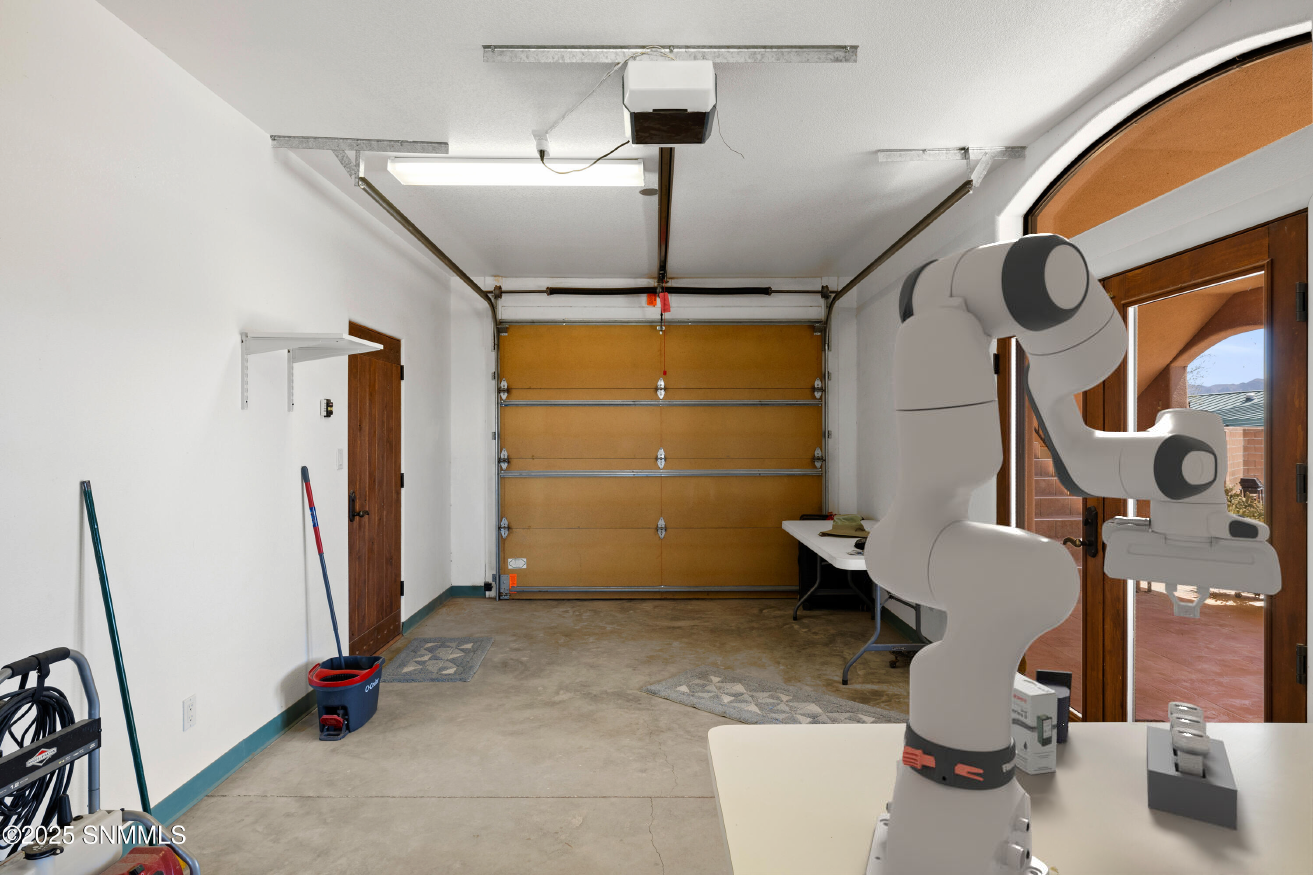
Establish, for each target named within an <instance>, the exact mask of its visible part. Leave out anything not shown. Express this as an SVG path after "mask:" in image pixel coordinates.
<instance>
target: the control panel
mask: <svg viewBox="0 0 1313 875" xmlns="http://www.w3.org/2000/svg"><path fill="white" fill-rule="evenodd" d="M1146 783H1147V784H1146V785H1147V789H1146V790H1147V807H1148V808H1151V809H1153V810H1154V809H1155V810H1158V811H1161V812H1165V813H1170V814H1174V815H1177V816H1181V817H1184V818H1189V819H1193V820H1195V821H1201V822H1204V823H1207V822H1208V824H1211V825H1217V826H1219V827H1223V828H1227V829H1231V830H1234V831H1237V828H1238V823H1237V822H1238V788H1237V785H1236V781H1235V778H1234V774H1233V770H1232V767H1231V764H1230V760H1229V757H1228V753H1227V750H1226V747H1225V743H1224V740H1221V739H1216V738H1211V737H1210V754H1209V755H1208V756H1203V760H1202V778H1201V777H1197V776H1192V775H1188V774H1184V773H1179V768H1178V757H1177V752H1176V749H1174V748H1173V747H1172V746H1171V732H1170V729H1166V728H1163V727H1158V726H1153V725H1146Z"/></svg>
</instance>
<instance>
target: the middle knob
mask: <svg viewBox="0 0 1313 875" xmlns="http://www.w3.org/2000/svg"><path fill="white" fill-rule="evenodd" d="M1173 728H1188V729H1193V730H1196V731H1199V732H1202V733H1204V734H1206V735H1207V722H1206V721H1204V719H1203V720H1201V719H1199V718H1196V717H1192V716H1188V715H1182V714H1173V715H1170V719H1169V730H1170V732H1171V731H1172V729H1173ZM1176 752H1177V757H1178V750H1176Z"/></svg>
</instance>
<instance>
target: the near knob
mask: <svg viewBox="0 0 1313 875" xmlns="http://www.w3.org/2000/svg"><path fill="white" fill-rule="evenodd" d="M1210 738H1211V737H1210V736H1209V735H1207V733H1206V734H1204V733H1202V732H1199V731H1196V730H1193V729H1188V728H1173V729H1172V731H1171V746H1172V747H1173V748H1174V749H1176V750H1178V768H1179V771H1178V772H1179V773H1184V774H1188V775H1192V776H1197V777H1201V778H1203V776H1202V760H1203V756H1208V755H1209V754H1210Z"/></svg>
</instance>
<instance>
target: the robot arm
mask: <svg viewBox="0 0 1313 875" xmlns="http://www.w3.org/2000/svg"><path fill="white" fill-rule="evenodd" d="M898 315H899V318H900V322H901V325H900V327H899V328H898V330H897V331H896V335H895V341H894V342H895V343H894V350H893V362H892V364H893V366H892V388H893V389H892V390H893V392H892V393H893V405H894V413H895V415H894V416H895V426H896V437H897V438H896V439H897V452H898V453H897V454H898V474H897V476H898V478H897V484H896V490H895V494H894V496H893V500H892V502H891V505H890V507H889V509H888V511H887V513H886V514H885V515H884V516H883V518H882V519H881V520H879V521H878V522H877V523H876V524H874V527H872V530H870V532H869V534H868V536H867V538H866V542H865V544H864V552H863V555H864V556H863V558H864V565H865V569H866V570H867V573H868V575H869V577H870V579H871V580H872V581H873V582H874V583H875V584H877V585H878V586H879V587H881V588H883V589H885V590H886V591H888V592H889V593H892V594H893V595H895V596H897V597H899V598H900V599H902V600H904V601H907V602H912V603H913V604H914V603H915V604H918V605H922V606H926V607H930V608H933V609H935V610H941V611H943V612H946V618H947V621H946V628H945V631H944V635H943V637H942V639H941V640H939V641H936V642H933V643H930V644H928V645H925V646H924V647H923V648H922V649H920V650H919V651H918V652H917V653H916V654H914V657H913V658H912V660H911V663H910V665H909V717H908V719H907V721H906V724H905V730H904V733H903V750H902V753H901V754H902V756H901V757H900V758H898V759H896V776H895V783H894V788H893V794H892V800H888V801H887V803H886V806H885V807H886V811H887V812H882V813H880V814H878V815H877V820H876V824H875V829H874V833H873V838H872V843H871V847H870V852H869V856H868V861H867V866H866V869H865V870H866V871H865V875H1050V869H1049V867H1048V866H1047V865H1046V864H1045V863H1044V862H1043V861H1041V860H1039V859H1038V858H1037V857H1035V856H1034V855H1033V842H1032V841H1033V839H1032V838H1033V836H1032V832H1033V831H1032V810H1031V808H1032V806H1031V804H1032V803H1031V797H1030V795H1029V794H1028V793H1027V791H1026V790H1024V788H1023V787H1022V786H1021V784H1020V783H1019V782H1018V779H1017V778H1016V776H1015V775H1016V774H1017V766H1016V762H1017V751H1016V744H1015V739H1014V738H1013V736H1012V708H1013V693H1014V682H1015V677H1016V673H1017V672H1018V668H1019V665H1020V662H1021V660H1022V658H1023V657H1024V655H1025V653H1026V651H1028V649H1029V647H1030V646H1031V644H1033V643H1034V641H1036V639H1038V638H1039V637H1041V636H1042V635H1043V634H1045V633H1046V632H1049V631H1051V630H1053V629H1055V628H1057V627H1059V625H1061V624H1062V623H1064V622H1065V620H1067V618H1069V617H1070V615H1071V614H1072V612H1073V611H1074V609H1075V607H1076V605H1077V603H1078V600H1079V596H1080V593H1081V578H1080V573H1079V569H1078V565H1077V563H1076V561H1075V559H1074V558H1073V556H1072V554H1071V552H1070V551H1069V550H1068V549H1067V547H1066V546H1065V545H1063V544H1062V543H1060V542H1059V541H1056V540H1054V539H1052V538H1048V537H1046V536H1043V535H1041V534H1038V533H1034V532H1032V531H1029V530H1026V529H1022V528H1018V527H1016V526H1015V527H1014V526H1007V525H1000V524H994V523H993V524H991V523H985V522H984V523H983V522H978V521H977V522H976V521H970V517H969V505H970V504H969V503H970V500H971V496H972V494H973V492H974V491H975V490H977V489H979V488H981V487H982V486H984V485H985V484H987V483H989V482H990V481H991V480H992V479H994V478H995V476H997V474H998V472H999V471H1000V469H1001V467H1002V464H1003V459H1004V455H1003V454H1004V452H1003V444H1002V442H1003V441H1002V434H1001V423H1000V422H1001V421H1000V411H999V400H998V391H997V390H998V389H997V382H996V377H995V376H996V375H995V370H994V366H993V361H992V357H991V352H990V348H991V345H992V342H993V340H997V339H1001V338H1002V339H1003V338H1006V337H1007V338H1008V337H1013V336H1015V337H1016V339H1017V342H1019V344H1020V346H1021V347H1022V349H1023V350H1024V352H1025V354H1026V356H1027V359H1028V362H1027V364H1025V365H1026V366H1025V367H1024V370H1023V375H1022V381H1023V382H1022V383H1023V388H1024V390H1025V395H1026V397H1027V400H1028V403H1029V406H1030V408H1031V410H1032V412H1033V415H1034V417H1035V420H1036V422H1037V424H1038V426H1039V429H1040V432H1041V434H1042V436H1043V438H1044V440H1045V443H1046V445H1047V448H1048V449H1049V453H1050V455H1051V456H1050V457H1051V461H1052V467H1053V471H1054V475H1055V477H1056V480H1057V481H1058V482H1059V484H1060V485H1061V486H1062V487H1063V488H1064V489H1065V490H1066V492H1068V493H1069V494H1070V495H1072V496H1074V497H1076V498H1115V499H1125V500H1126V499H1127V500H1138V501H1140V500H1144V501H1149V502H1150V507H1149V508H1150V511H1149V512H1150V514H1149V515H1150V517H1149V518H1146V517H1143V518H1142V517H1125V516H1114V517H1113V518H1111V519H1108V520H1106V521H1105V522H1103V524H1102V527H1101V528H1102V529H1101V538H1102V541H1103V542H1104V543H1105V545H1106V550H1105V557H1104V564H1103V565H1104V566H1103V572H1104V573H1105V574H1106V575H1107V576H1108V577H1109V578H1111V579H1118V580H1119V579H1120V580H1128V581H1129V580H1130V581H1139V582H1147V583H1148V582H1150V583H1159V584H1164V591H1165V593H1166V594H1167V596H1168V598H1170V601H1171V602H1172V604H1173V615H1174V616H1178V617H1186V618H1187V617H1188V618H1191V619H1192V618H1194V619H1200V616H1201V615H1200V613H1201V612H1200V610H1201V607H1202V606H1203V605H1204V604H1205V603H1206V601H1207V600H1208V599H1209V598H1210V597H1211V596H1210V594H1211V591H1210V590H1211V589H1214V590H1221V591H1232V592H1233V591H1235V592H1242V593H1252V594H1260V595H1272V596H1273V595H1275V594H1277V593H1279V592H1280V591H1281V590H1282V573H1281V566H1280V562H1279V561H1280V560H1279V556H1278V554H1277V551H1276V549H1275V548H1274V547H1273V546H1272V545H1271V544H1270V543H1269V542H1268V541H1266V540H1268V539H1269V538H1270V527H1269V526H1268V525H1267V524H1265V523H1264V522H1261V521H1259V520H1256V519H1253V518H1250V517H1247V516H1244V515H1242V514H1239V513H1232V512H1229V511H1228V497H1227V495H1226V492H1225V480H1226V478H1227V475H1228V472H1229V471H1228V470H1229V462H1228V461H1229V458H1228V457H1229V456H1228V454H1229V453H1228V444H1227V435H1226V429H1225V425H1224V421H1223V419H1222V417H1221V416H1220V415H1218V414H1217V413H1215V412H1213V411H1210V410H1206V409H1196V408H1195V409H1194V408H1184V407H1183V408H1181V407H1180V408H1179V407H1178V408H1168V409H1164V410H1161V411H1159V412H1158V413H1157V414H1156V418H1155V423H1154V426H1152V427H1151V428H1148V429H1146V430H1145V431H1138V432H1137V431H1136V432H1134V431H1133V432H1132V431H1126V432H1125V431H1124V432H1123V431H1120V432H1119V431H1116V432H1115V431H1102V430H1098V429H1094V428H1092V427H1089V426H1087V425H1086V424H1085V422H1084V419H1083V417H1082V414H1081V412H1080V410H1079V407H1078V404H1077V401H1076V399H1075V397H1074V395H1076V394H1079V393H1082V392H1085V391H1088V390H1091V389H1092V388H1094V387H1095V386H1097V385H1099V384H1100V383H1101V382H1103V381H1104V380H1106V379H1107V378H1108V377H1109V376H1111V375H1112V374H1113V373H1114V371H1115V370H1116V369H1118V367H1119V365H1120V364H1121V362H1122V361H1123V359H1124V357H1125V355H1126V352H1127V350H1128V345H1129V344H1128V343H1129V337H1128V331H1127V327H1126V325H1125V323H1124V320H1123V318H1122V316H1121V314H1120V313H1119V311H1118V310H1117V308H1116V306H1115V305H1114V303H1113V301H1112V299H1111V298H1110V297H1109V295H1108V293H1107V291H1106V290H1105V289H1104V287H1103V286H1102V284H1101V283H1100V281H1099V280H1098V279H1097V278H1096V277H1095V276H1094V274H1093V273H1092V272H1091V270H1090V269H1089V265H1088V263H1087V260H1086V258H1085V255H1084V254H1083V252H1082V250H1081V249H1080V248H1079V247H1078V246H1077V245H1075V243H1073V242H1072V241H1071V240H1069V239H1067V238H1066V237H1064V236H1062V235H1059V234H1057V233H1056V234H1055V233H1037V234H1035V233H1034V234H1027V235H1024V236H1021V237H1019V238H1018V239H1012V240H1006V241H1005V240H1004V241H999V242H996V243H995V242H994V243H989V244H986V245H975V246H972V247H968V248H965V249H962V250H960V251H957V252H954V253H951V254H949V255H947V256H945V257H942V258H937V259H932V260H929V261H927V262H925V263H923V264H921V265H920V266H918V267H916V268H915V269H914V270H912V271H911V272H909V274H907V276H906V278H905V279H904V281H903V283H902V286H901V288H900V292H899V296H898ZM1178 586H1186V587H1196V589H1195V590H1196V594H1197V595H1198V596H1197V598H1196V599H1195V600H1194V601H1193V602H1192V603H1191V602H1185V601H1183V602H1182V601H1180V600H1179V599H1178V597H1177V595H1176V594H1175V593H1177V592H1178Z"/></svg>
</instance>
